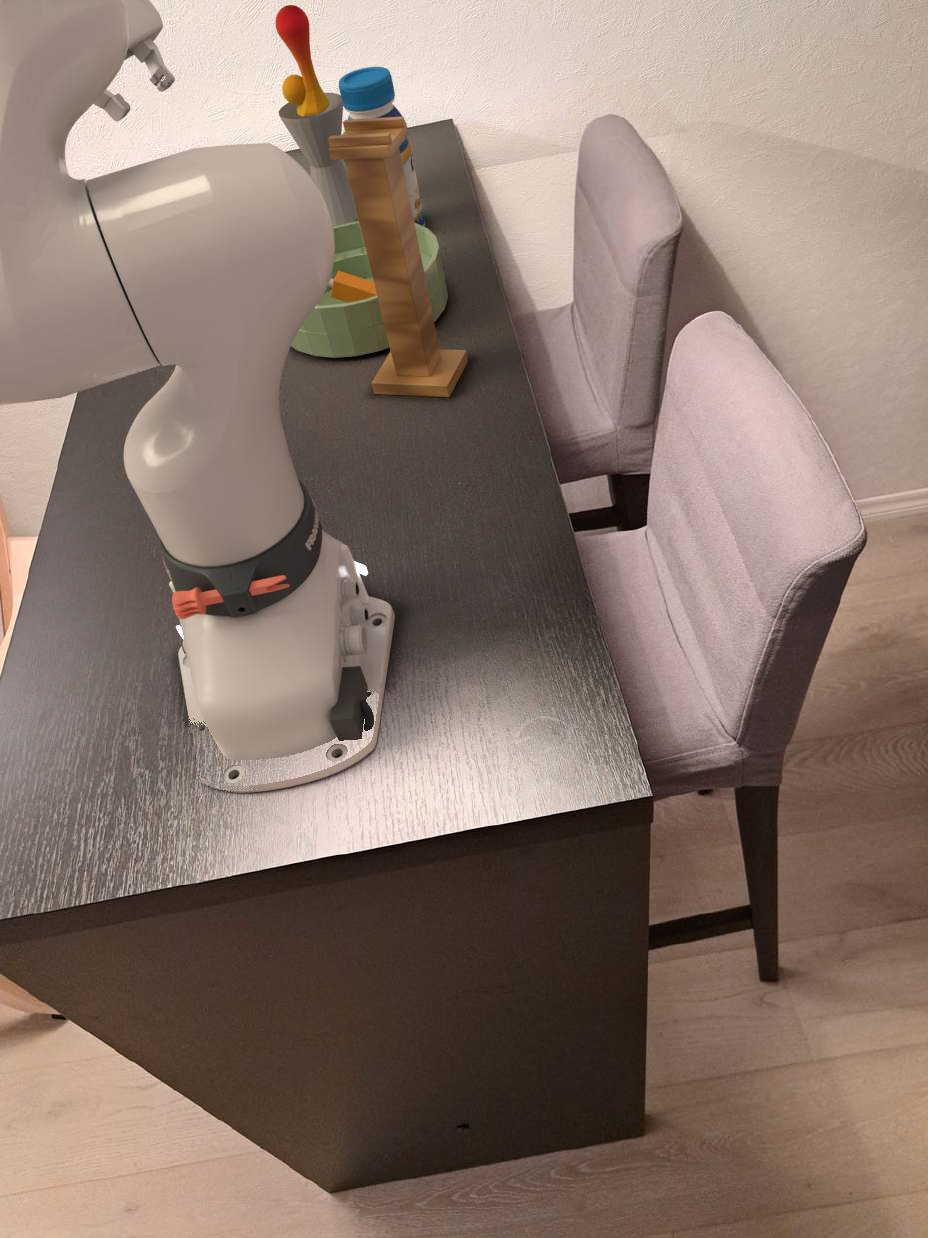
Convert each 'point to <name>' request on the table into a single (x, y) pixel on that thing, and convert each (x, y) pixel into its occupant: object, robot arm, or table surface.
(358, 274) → the green pet bowl
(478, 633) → the table surface
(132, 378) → the table surface
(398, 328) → the shelf stand
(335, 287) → the screwdriver
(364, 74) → the beverage bottle
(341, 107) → the lava lamp
